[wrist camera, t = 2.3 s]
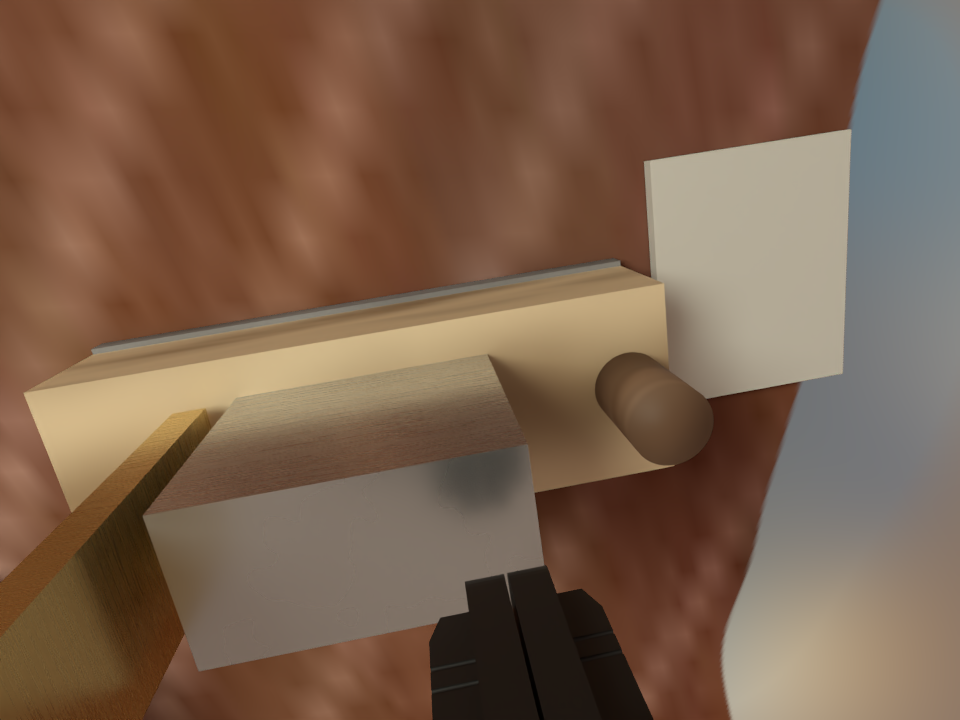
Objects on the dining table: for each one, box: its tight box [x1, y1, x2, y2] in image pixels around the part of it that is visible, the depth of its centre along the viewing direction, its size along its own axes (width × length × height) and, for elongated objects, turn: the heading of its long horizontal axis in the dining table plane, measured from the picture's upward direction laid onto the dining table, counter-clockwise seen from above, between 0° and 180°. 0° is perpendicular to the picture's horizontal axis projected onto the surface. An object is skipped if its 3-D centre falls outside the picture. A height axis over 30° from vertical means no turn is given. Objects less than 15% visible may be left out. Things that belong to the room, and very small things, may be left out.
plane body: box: [24, 258, 714, 513], centre depth 20 cm, size 7×20×8 cm, turn 98°
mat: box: [644, 129, 851, 399], centre depth 25 cm, size 10×8×1 cm
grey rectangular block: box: [143, 354, 544, 671], centre depth 16 cm, size 4×8×7 cm, turn 98°
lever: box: [0, 408, 212, 720], centre depth 13 cm, size 4×1×12 cm, turn 8°
